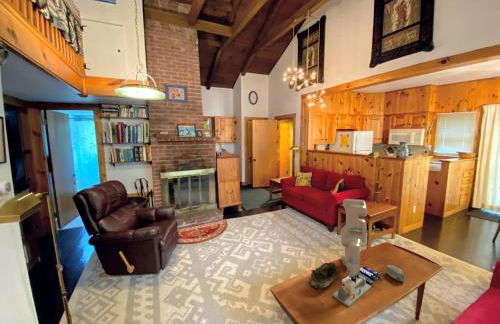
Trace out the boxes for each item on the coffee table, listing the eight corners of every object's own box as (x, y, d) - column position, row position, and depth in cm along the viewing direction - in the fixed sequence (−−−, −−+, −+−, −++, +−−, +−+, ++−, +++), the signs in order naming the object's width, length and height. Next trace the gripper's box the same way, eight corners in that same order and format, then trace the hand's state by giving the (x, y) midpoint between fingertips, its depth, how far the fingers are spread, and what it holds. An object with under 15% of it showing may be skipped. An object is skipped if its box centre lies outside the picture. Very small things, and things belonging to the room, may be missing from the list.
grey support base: (333, 296, 146) (333, 286, 145) (355, 279, 162) (355, 270, 161) (349, 307, 136) (349, 297, 135) (371, 288, 152) (371, 278, 151)
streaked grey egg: (410, 278, 156) (403, 267, 157) (401, 286, 155) (394, 274, 155) (395, 271, 170) (389, 261, 170) (387, 278, 168) (380, 267, 169)
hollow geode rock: (335, 281, 167) (326, 262, 175) (345, 278, 158) (335, 258, 166) (309, 293, 155) (300, 271, 163) (318, 290, 146) (309, 268, 154)
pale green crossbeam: (341, 294, 143) (341, 291, 142) (360, 279, 157) (360, 277, 157) (344, 296, 141) (344, 293, 140) (363, 281, 155) (363, 278, 155)
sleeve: (344, 291, 147) (344, 281, 146) (348, 288, 150) (348, 278, 149) (351, 295, 143) (351, 285, 142) (354, 292, 146) (355, 282, 145)
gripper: (354, 253, 154) (353, 275, 156) (343, 260, 145) (342, 283, 147) (364, 258, 147) (363, 281, 149) (353, 265, 139) (352, 290, 141)
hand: (353, 282), depth 148 cm, fingers closed
